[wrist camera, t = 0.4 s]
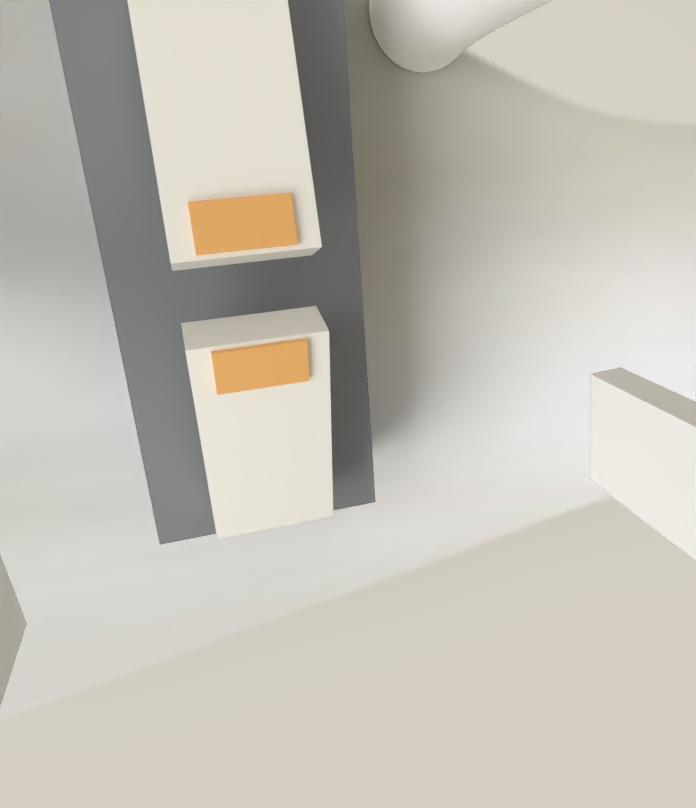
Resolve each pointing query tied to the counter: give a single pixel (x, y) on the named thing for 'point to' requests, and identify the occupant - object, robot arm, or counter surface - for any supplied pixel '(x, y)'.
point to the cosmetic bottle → (438, 27)
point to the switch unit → (218, 285)
